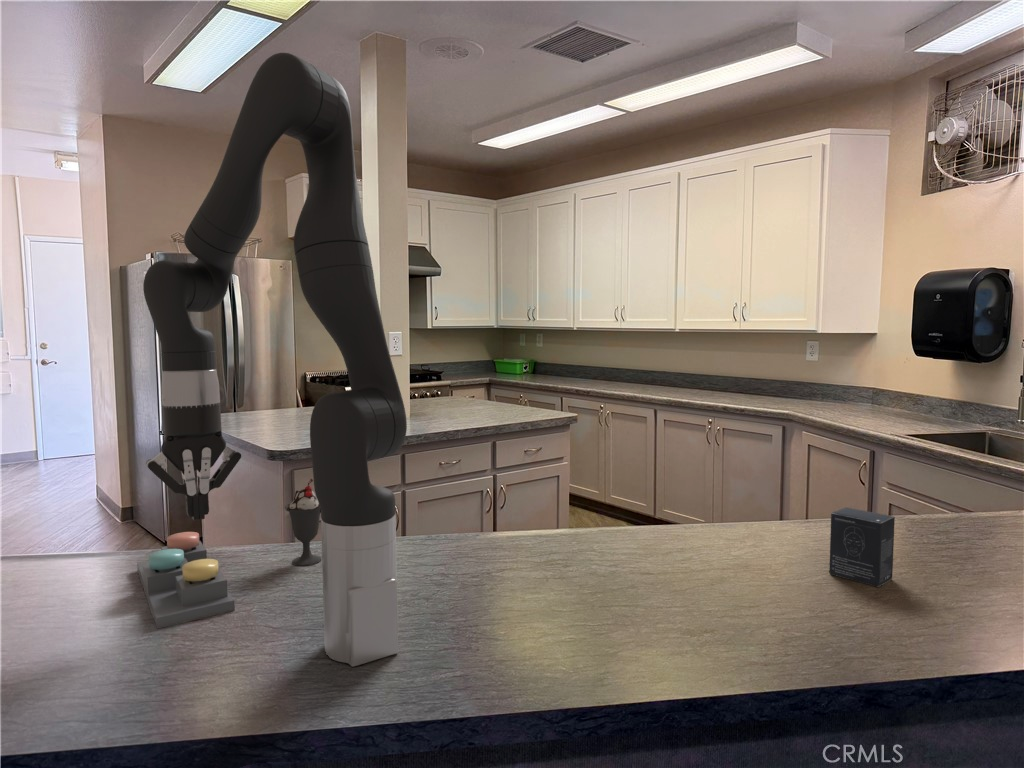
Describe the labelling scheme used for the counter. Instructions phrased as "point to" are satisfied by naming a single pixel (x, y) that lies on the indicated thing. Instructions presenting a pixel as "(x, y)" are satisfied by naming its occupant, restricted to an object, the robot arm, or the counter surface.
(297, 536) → the sundae
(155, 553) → the button teal
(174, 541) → the salmon orange dome button
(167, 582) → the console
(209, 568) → the button ochre
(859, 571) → the box
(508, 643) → the counter surface
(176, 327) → the robot arm
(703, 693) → the counter surface
